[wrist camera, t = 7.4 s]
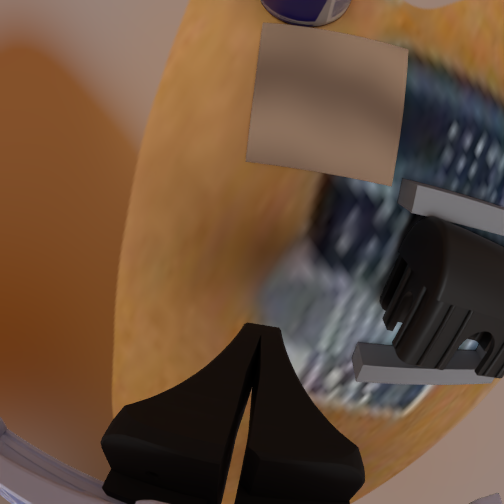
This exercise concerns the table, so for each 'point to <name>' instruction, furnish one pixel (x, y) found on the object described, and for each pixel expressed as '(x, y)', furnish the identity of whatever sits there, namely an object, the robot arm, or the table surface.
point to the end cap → (446, 296)
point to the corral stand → (463, 361)
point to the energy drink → (306, 11)
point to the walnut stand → (327, 103)
